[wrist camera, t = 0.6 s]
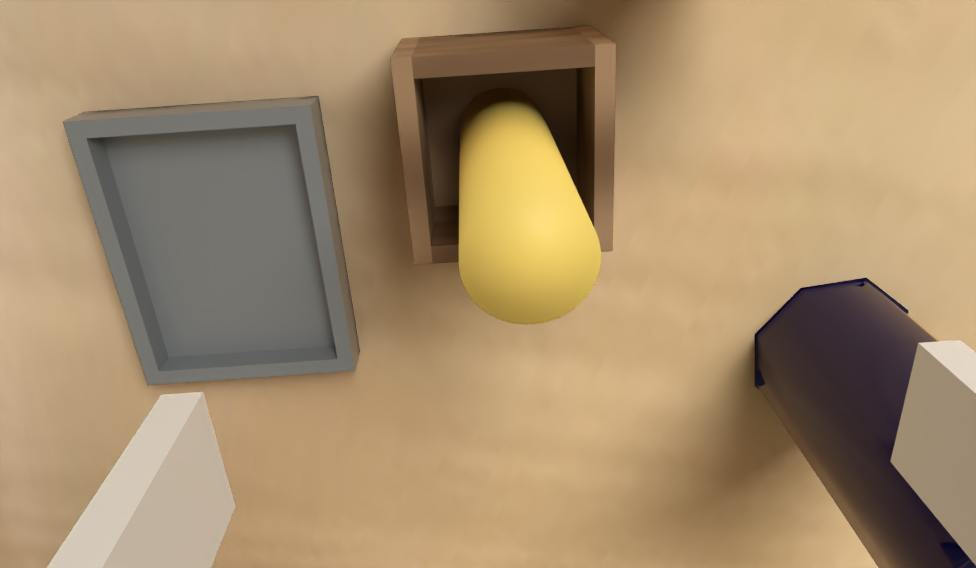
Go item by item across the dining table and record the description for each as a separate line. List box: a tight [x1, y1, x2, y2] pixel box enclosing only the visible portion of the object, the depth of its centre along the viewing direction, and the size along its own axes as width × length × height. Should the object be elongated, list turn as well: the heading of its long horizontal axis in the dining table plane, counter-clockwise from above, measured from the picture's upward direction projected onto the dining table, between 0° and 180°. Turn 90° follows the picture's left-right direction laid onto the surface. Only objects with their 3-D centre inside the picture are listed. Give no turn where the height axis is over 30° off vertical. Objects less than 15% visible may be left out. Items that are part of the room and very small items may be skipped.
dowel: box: [459, 88, 601, 324], centre depth 27 cm, size 4×4×15 cm
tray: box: [63, 96, 360, 385], centre depth 36 cm, size 14×11×2 cm
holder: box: [390, 26, 616, 265], centre depth 32 cm, size 9×9×6 cm
